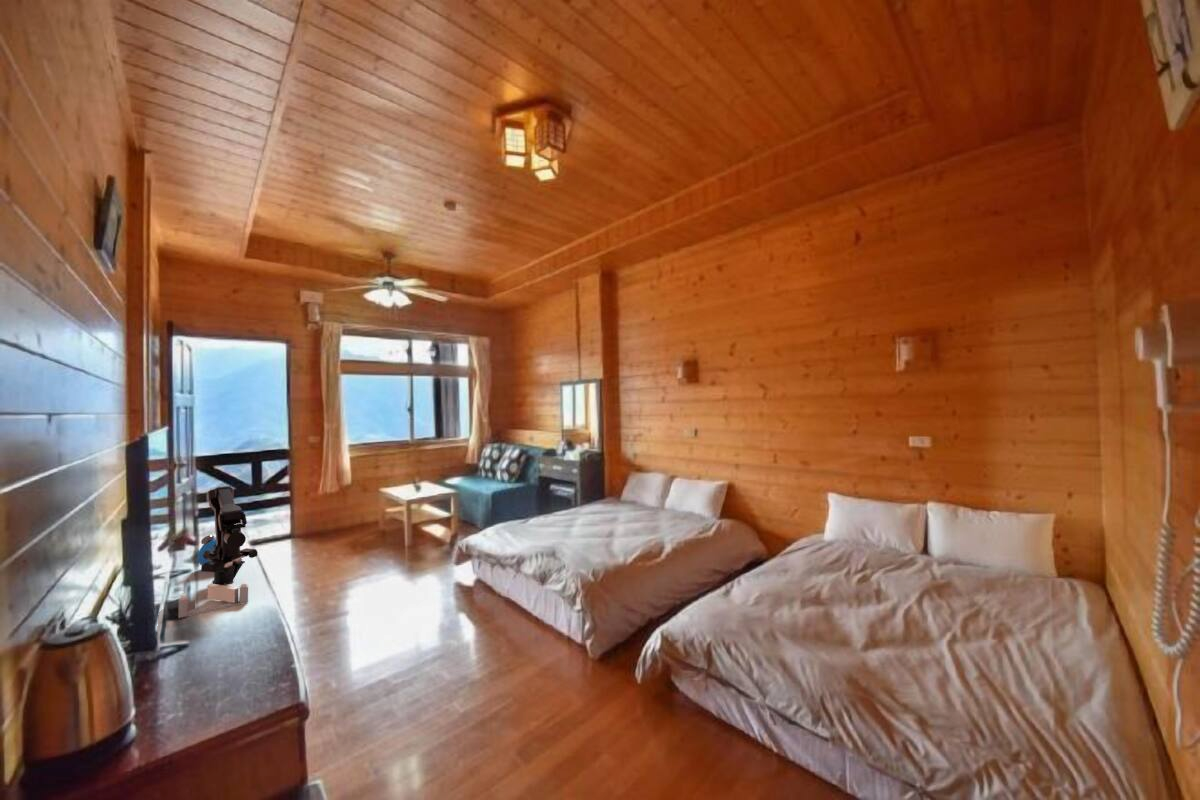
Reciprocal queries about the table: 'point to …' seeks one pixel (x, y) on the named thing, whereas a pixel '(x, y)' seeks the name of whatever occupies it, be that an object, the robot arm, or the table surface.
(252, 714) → the table surface
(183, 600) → the gate frame
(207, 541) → the alarm clock
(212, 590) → the gate
